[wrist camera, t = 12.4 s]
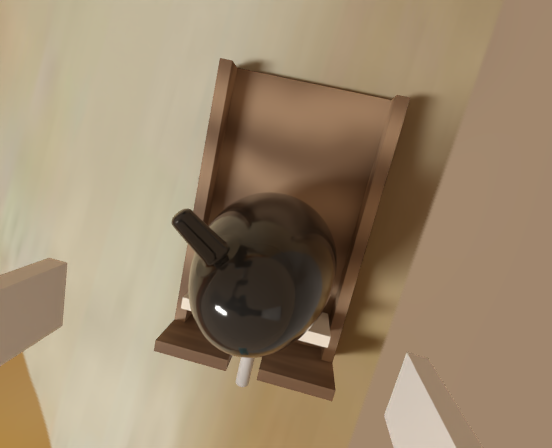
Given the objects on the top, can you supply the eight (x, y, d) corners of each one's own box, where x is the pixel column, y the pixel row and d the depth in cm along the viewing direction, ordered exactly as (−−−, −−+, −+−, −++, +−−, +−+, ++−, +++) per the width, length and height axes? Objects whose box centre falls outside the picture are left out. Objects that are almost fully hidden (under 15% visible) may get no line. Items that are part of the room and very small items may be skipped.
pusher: (200, 280, 29) (182, 297, 25) (327, 313, 28) (330, 337, 24) (186, 353, 30) (168, 380, 26) (307, 387, 29) (306, 420, 26)
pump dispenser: (289, 166, 27) (268, 141, 12) (353, 264, 27) (413, 361, 12) (197, 229, 28) (73, 278, 13) (260, 320, 29) (209, 469, 14)
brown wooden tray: (228, 68, 26) (204, 39, 20) (400, 104, 25) (428, 84, 19) (183, 316, 31) (153, 350, 25) (327, 356, 30) (332, 401, 24)
